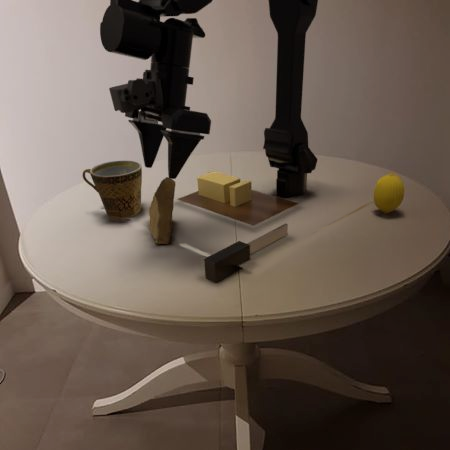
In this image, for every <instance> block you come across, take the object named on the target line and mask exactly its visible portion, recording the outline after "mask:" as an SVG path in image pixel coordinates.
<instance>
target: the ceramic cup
mask: <svg viewBox="0 0 450 450" xmlns="http://www.w3.org/2000/svg"><path fill="white" fill-rule="evenodd" d="M142 169H143V167H142V164H141V162H138V161H134V160H113V161H107V162H102V163H100V164H97V165H95V166H93V167H92V168H86V169H84V170H83V171H82V178H83V181H85V183H86V184H87V185H89V186H90V187H92V188H93V190H95V191H96V192H97V193H98V195H99V197H100V200H101V203H102V205H103V207H104V210H105V213H106V216H107V218H108V220H110V222H114V223H115V222H117V223H126V222H129V221H131V219H129V218H131V217H134V216H136V215H138V214H139V212H141V211H142V184H143V170H142ZM86 173H88V174H89V175H90V177H91V180H92V182H90V181H89V180H88V179H87V177H86Z"/></svg>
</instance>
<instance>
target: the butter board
mask: <svg viewBox="0 0 450 450" xmlns="http://www.w3.org/2000/svg"><path fill="white" fill-rule="evenodd" d="M176 200H178V201H180V202H183V203H186V204H189V205H192V206H195V207H198V208H201V209H204V210H206V211H210V212H212V213H216V214H218V215H221V216H224V217H227V218H229V219H232V220H235V221H239V222H241V223H244V224H247V225H250V226H252V227H255V226H256V225H258V224H261V223H262V222H265V221H266V220H269V219H270V218H272V217H275V216H277V215H279V214H281V213H282V212H285V211H287V210H289V209H291V208H293V207H295V206H297V205H299V202H295V201H293V200H290V199H284V198H281V197H277V196H276V195H275V196H274V195H271V194H269V193H265V192H261V191H257V190H254V189H252V200H250V201H248V202H245V203H243V204H241V205H239V206H236V207H234V206H231V205H230V201H229V202H227V203H222V202H219V201H216V200H213V199H210V198H207V197H203V196H200V195H199V192H198V190H197V191H195V192H192V193H189V194H187V195H184V196H181V197H178V198H177V199H176Z"/></svg>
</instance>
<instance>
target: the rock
mask: <svg viewBox="0 0 450 450" xmlns="http://www.w3.org/2000/svg"><path fill="white" fill-rule="evenodd" d="M175 191H176V181H175V179H170V178H169V176H166V177H164V178H163V179H162V180H161V181H160V183H159V185H158V186H157V187H156V190H155V192H154V194H153V196H152V201H151V203H150V206H149V209H148V215H149V222H148V223H149V224H148V228H147V230H149V233H150V234H151V235H152V237H153V238H154V239H155V243H156V244H157V245H168V244H169V243H170V240H171V233H172V223H173V211H174V203H175V200H174V199H175Z"/></svg>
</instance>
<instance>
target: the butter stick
mask: <svg viewBox="0 0 450 450" xmlns="http://www.w3.org/2000/svg"><path fill="white" fill-rule="evenodd" d="M196 180H197V191H198V192H199V195H200V196H203V197H207V198H210V199H213V200H216V201H219V202H222V203H227V202H229V201H230V186H232V185H235V184H237V183H240V182H241V178H240V177H236V176H233V175H231V174H226V173H222V172H218V171H211V172H207V173H205V174H202V175H199V176H197V179H196Z"/></svg>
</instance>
